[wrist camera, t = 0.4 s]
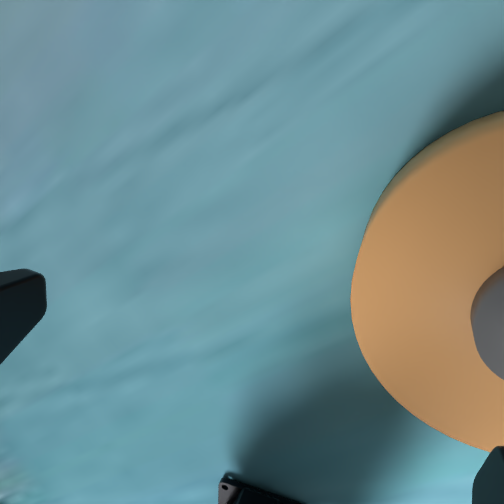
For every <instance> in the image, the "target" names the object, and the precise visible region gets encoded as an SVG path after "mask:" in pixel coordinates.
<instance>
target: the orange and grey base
mask: <svg viewBox="0 0 504 504" xmlns="http://www.w3.org/2000/svg"><path fill="white" fill-rule="evenodd" d="M350 300H351V314H352V322H353V326H354V330H355V335H356V338H357V341H358V344H359V346H360V349H361V351H362V354H363V356H364V358H365V360H366V361H367V363H368V365H369V367H370V369H371V370H372V372H373V373H374V375H375V376H376V377H377V379H378V380H379V381H380V383H381V384H382V385H383V387H384V388H385V389H386V390H387V391H388V392H389V393H390V394H391V395H392V396H393V397H394V398H395V400H396V401H397V402H399V403H400V404H401V405H402V406H403V407H404V408H406V409H407V410H408V411H409V412H410V413H412V414H413V415H414V416H416V417H417V418H419V419H420V420H422V421H423V422H425V423H426V424H428V425H429V426H430V427H432V428H434V429H436V430H438V431H440V432H442V433H443V434H445V435H447V436H449V437H451V438H453V439H456V440H458V441H460V442H463V443H465V444H468V445H470V446H473V447H476V448H479V449H482V450H485V451H488V452H491V451H492V450H493V449H494V448H495V447H496V446H504V111H500V112H496V113H493V114H490V115H488V116H485V117H482V118H479V119H476V120H473V121H471V122H469V123H467V124H465V125H463V126H461V127H458V128H456V129H454V130H452V131H450V132H448V133H447V134H445V135H444V136H442V137H440V138H439V139H437V140H436V141H434V142H432V143H431V144H429V145H428V146H427V147H425V148H424V149H423V150H422V151H420V152H419V153H418V154H417V155H416V156H414V157H413V158H412V159H411V160H410V161H409V162H408V163H407V164H406V165H405V166H404V167H403V168H402V169H401V170H400V171H399V172H398V173H397V174H396V175H395V176H394V178H393V179H392V180H391V182H390V183H389V184H388V186H387V187H386V188H385V190H384V191H383V193H382V194H381V196H380V198H379V200H378V201H377V203H376V205H375V207H374V209H373V211H372V214H371V216H370V219H369V221H368V224H367V226H366V230H365V233H364V237H363V240H362V244H361V247H360V250H359V254H358V257H357V261H356V265H355V269H354V274H353V278H352V286H351V299H350Z"/></svg>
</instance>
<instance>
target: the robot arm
mask: <svg viewBox="0 0 504 504" xmlns="http://www.w3.org/2000/svg"><path fill="white" fill-rule="evenodd" d="M46 308H47V299H46V281H45V278H44V276H43V275H42V274H40V273H37V272H35V271H32V270H29V269H17V270H11V271H5V272H0V364H1V363H2V362H3V361H4V360H5V359H6V358H7V356H8V355H9V354H10V353H11V352H12V351H13V350H14V349H15V348H16V346H17V345H18V344H19V343H20V342H21V341H22V340H23V339H24V338H25V337H26V335H27V334H28V333H29V332H30V331H31V330H32V329H33V328H34V327H35V325H36V324H37V323H38V322H39V321H40V320H41V319H42V317H43V316H44V314H45V312H46ZM218 504H301V503H298V502H295V501H292V500H289V499H286V498H283V497H280V496H277V495H274V494H272V493H269V492H266V491H263V490H260V489H257V488H254V487H251V486H248V485H245V484H242V483H240V482H237V481H234V480H231V479H228V478H222V479H221V481H220V483H219V497H218ZM472 504H504V446H496V447H495V448H494V449H493V450H492V451H491V453H490V454H489V456H488V457H487V459H486V461H485V462H484V464H483V465H482V467H481V468H480V470H479V472H478V473H477V475H476V477H475V479H474V483H473V489H472Z"/></svg>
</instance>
